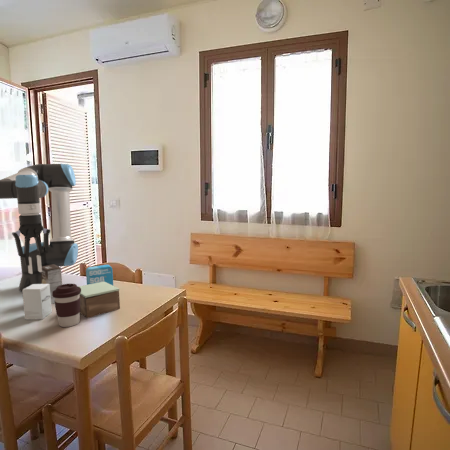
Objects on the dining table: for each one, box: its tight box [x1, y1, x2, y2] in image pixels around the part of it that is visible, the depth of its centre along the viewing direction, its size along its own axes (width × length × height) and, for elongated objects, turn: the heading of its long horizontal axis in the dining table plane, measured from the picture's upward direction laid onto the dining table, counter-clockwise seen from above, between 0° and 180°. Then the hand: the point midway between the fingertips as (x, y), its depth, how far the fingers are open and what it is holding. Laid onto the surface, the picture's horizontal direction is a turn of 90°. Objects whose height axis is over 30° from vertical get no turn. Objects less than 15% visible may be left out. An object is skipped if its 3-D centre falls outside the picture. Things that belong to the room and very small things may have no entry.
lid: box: [77, 282, 120, 298], centre depth 139 cm, size 15×14×1 cm
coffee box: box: [41, 264, 63, 305], centre depth 151 cm, size 9×6×16 cm
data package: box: [85, 264, 114, 286], centre depth 165 cm, size 12×4×12 cm, turn 122°
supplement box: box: [21, 284, 53, 320], centre depth 133 cm, size 7×7×13 cm
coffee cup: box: [52, 283, 81, 328], centre depth 125 cm, size 10×10×15 cm
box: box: [80, 290, 121, 319], centre depth 140 cm, size 14×14×8 cm
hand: (35, 272), depth 132 cm, fingers open, 3 cm apart
